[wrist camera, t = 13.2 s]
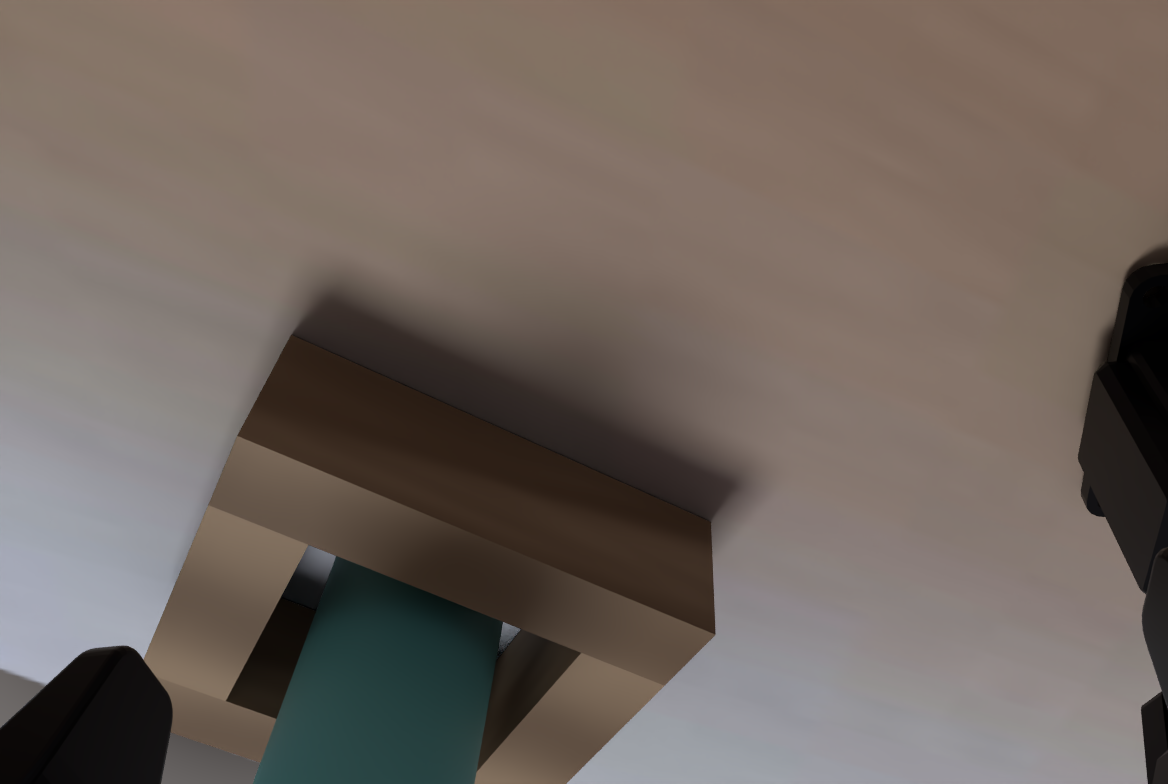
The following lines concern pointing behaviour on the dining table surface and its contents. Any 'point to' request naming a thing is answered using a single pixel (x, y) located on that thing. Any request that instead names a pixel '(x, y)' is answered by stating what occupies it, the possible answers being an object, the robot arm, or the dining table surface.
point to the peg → (384, 688)
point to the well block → (432, 565)
